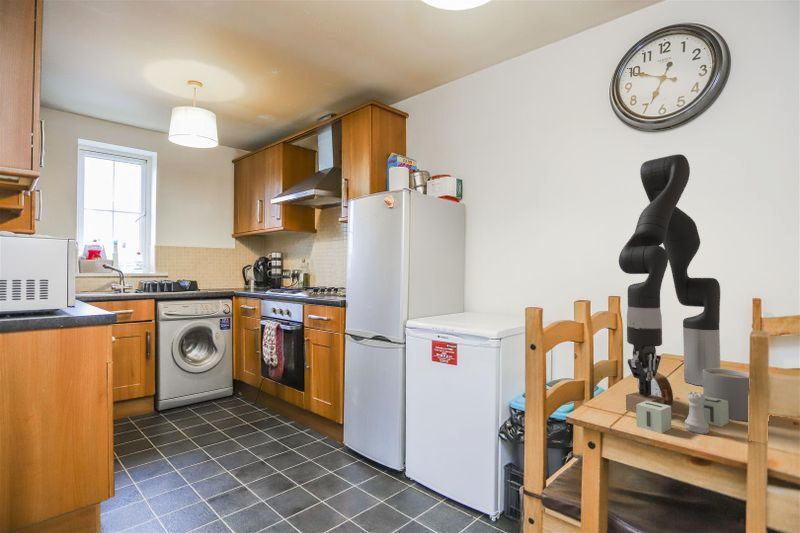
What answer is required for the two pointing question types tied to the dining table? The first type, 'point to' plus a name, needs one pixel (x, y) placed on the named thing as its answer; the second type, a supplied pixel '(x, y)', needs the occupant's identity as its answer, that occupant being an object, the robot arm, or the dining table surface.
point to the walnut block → (640, 400)
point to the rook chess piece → (696, 414)
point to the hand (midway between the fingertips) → (645, 394)
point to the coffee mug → (728, 390)
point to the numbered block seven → (715, 411)
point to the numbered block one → (653, 416)
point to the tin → (661, 388)
